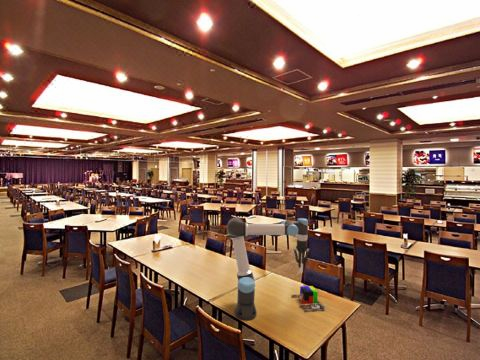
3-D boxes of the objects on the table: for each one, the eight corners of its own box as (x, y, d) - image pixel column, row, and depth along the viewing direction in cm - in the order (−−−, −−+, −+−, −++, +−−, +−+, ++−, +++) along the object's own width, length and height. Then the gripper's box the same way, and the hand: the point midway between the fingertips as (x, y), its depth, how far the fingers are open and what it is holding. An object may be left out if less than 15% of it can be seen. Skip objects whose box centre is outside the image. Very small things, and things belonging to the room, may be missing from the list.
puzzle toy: (299, 299, 201) (300, 286, 201) (312, 298, 202) (312, 286, 202) (304, 305, 191) (304, 291, 191) (317, 305, 192) (317, 291, 192)
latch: (311, 310, 182) (311, 306, 182) (310, 309, 184) (310, 304, 184) (319, 310, 183) (319, 305, 183) (318, 308, 185) (318, 304, 185)
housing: (303, 313, 179) (304, 308, 179) (291, 297, 203) (291, 293, 203) (326, 312, 182) (326, 307, 182) (311, 296, 205) (311, 292, 205)
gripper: (295, 241, 183) (294, 274, 183) (312, 241, 185) (311, 273, 185) (291, 238, 190) (290, 270, 190) (308, 238, 192) (307, 270, 192)
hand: (300, 272), depth 187 cm, fingers closed
